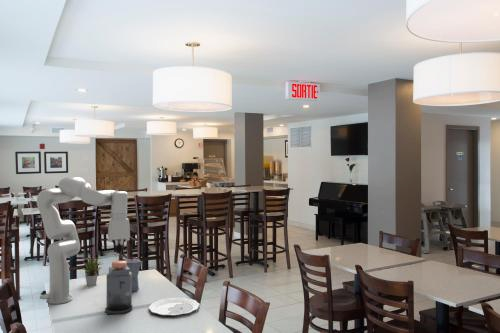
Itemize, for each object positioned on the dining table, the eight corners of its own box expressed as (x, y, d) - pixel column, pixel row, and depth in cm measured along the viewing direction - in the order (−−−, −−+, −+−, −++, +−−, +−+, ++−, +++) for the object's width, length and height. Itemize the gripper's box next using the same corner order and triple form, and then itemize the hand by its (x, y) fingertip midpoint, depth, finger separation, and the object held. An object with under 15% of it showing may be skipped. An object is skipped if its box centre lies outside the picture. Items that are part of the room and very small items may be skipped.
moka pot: (138, 294, 234) (138, 258, 233) (113, 292, 237) (113, 257, 237) (146, 289, 243) (146, 254, 243) (121, 287, 246) (122, 253, 246)
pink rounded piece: (113, 276, 204) (113, 264, 204) (110, 273, 210) (110, 261, 210) (127, 274, 207) (128, 263, 207) (124, 271, 213) (124, 260, 213)
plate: (156, 322, 194) (156, 318, 194) (143, 305, 217) (143, 301, 217) (206, 313, 206) (206, 309, 206) (189, 298, 228) (189, 294, 228)
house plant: (98, 289, 242) (98, 261, 241) (74, 289, 242) (74, 261, 241) (107, 282, 256) (107, 255, 256) (84, 282, 256) (85, 255, 256)
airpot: (109, 319, 197) (109, 274, 197) (102, 306, 213) (102, 265, 213) (137, 314, 203) (137, 271, 203) (128, 302, 220) (128, 262, 219)
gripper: (104, 217, 201) (104, 255, 202) (136, 216, 208) (135, 253, 209) (102, 215, 208) (101, 252, 208) (132, 214, 215) (131, 249, 215)
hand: (118, 252), depth 209 cm, fingers closed
